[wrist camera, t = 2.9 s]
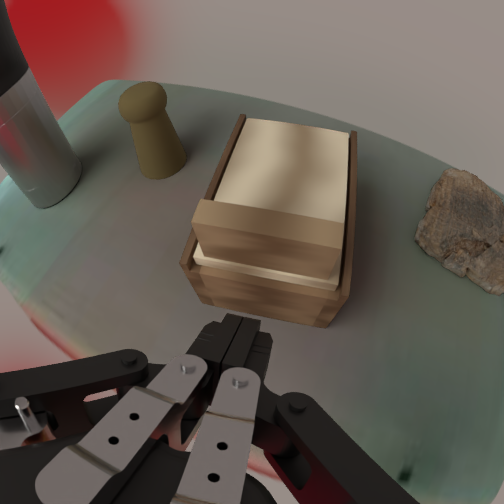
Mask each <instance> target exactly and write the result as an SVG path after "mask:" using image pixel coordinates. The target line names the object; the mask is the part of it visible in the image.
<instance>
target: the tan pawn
mask: <svg viewBox="0 0 504 504" xmlns="http://www.w3.org/2000/svg"><path fill="white" fill-rule="evenodd" d="M166 104H167V95H166V92H165V90H164V89H163V87H162V86H161V85H160V84H158V83H156V82H150V81H148V82H142V83H138V84H136V85H133V86H132V87H130V88H128V89H127V90H126V91H125V92H124V93H123V94H122V95H121V97H120V99H119V103H118V105H119V111H120V114H121V116H122V117H123V118H124V119H125V120H126V121H127V122H129V123H130V127H131V132H132V136H133V140H134V144H135V149H136V153H137V157H138V161H139V165H140V169H141V172H142V174H143V175H144V176H145V177H147V178H150V179H163V178H167V177H169V176H172V175H174V174H175V173H177V172H178V171H179V170H180V169H181V168H182V167H183V166H184V164H185V162H186V157H187V155H186V153H185V150H184V148H183V146H182V144H181V142H180V140H179V138H178V136H177V134H176V131H175V129H174V127H173V125H172V123H171V121H170V119H169V117H168V115H167V112H166V110H165V107H166Z"/></svg>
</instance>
